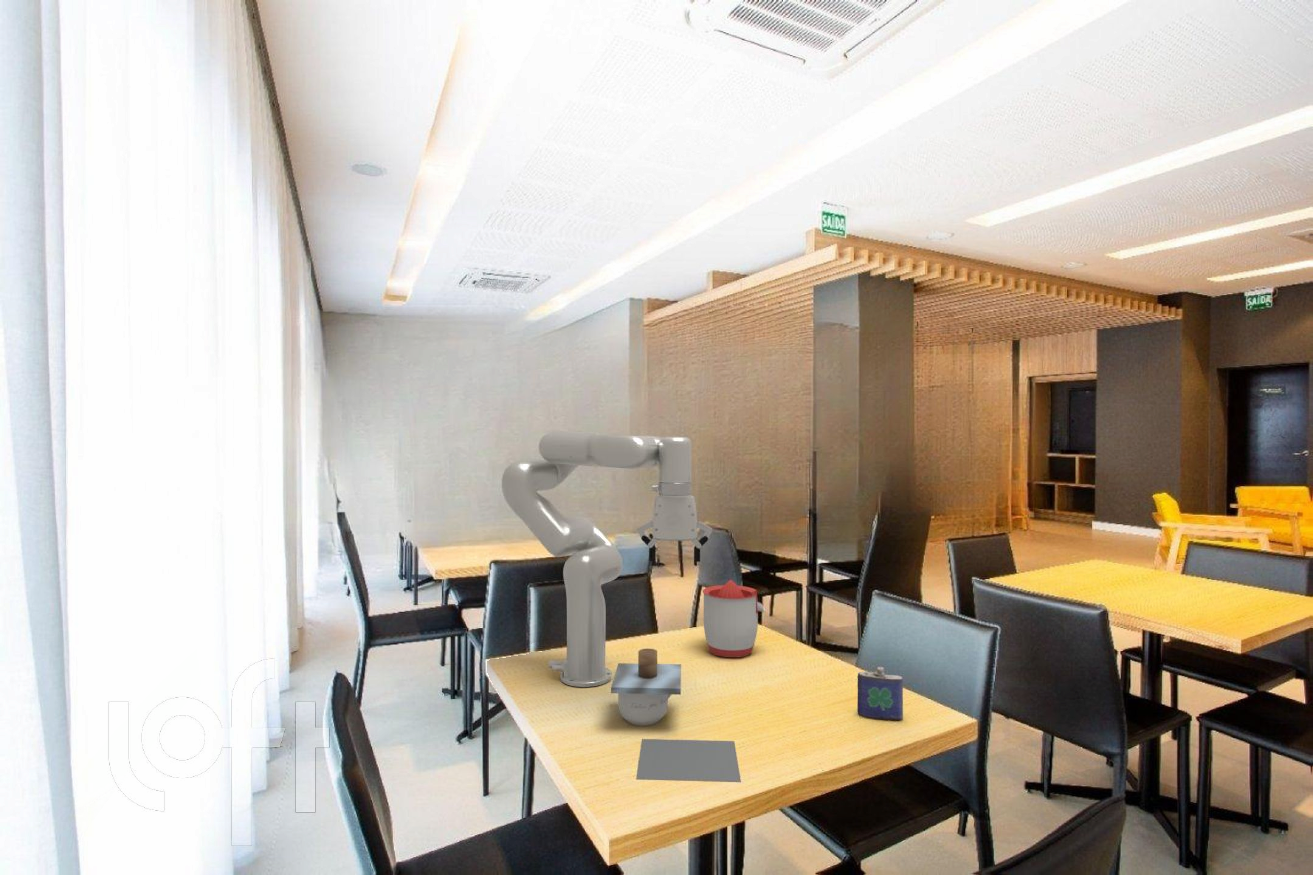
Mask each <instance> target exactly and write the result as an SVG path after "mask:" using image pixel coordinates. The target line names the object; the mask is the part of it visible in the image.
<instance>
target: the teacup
mask: <svg viewBox="0 0 1313 875" xmlns="http://www.w3.org/2000/svg"><path fill="white" fill-rule="evenodd" d="M672 695H673V694H624V693H617V700H618V710H619V712H620V715H621V717H622V718H623V719H625V720H626V721H627V722H628V723H629V724H631V725H634V726H643V727H644V726H651V725H655V724H657V723H658V722H660V721H661V719H662V718H663V717H664V716H665V715H666V714H667V712H668V709H669V708H668V707H669V698H671V696H672Z"/></svg>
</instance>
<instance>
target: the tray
mask: <svg viewBox="0 0 1313 875" xmlns="http://www.w3.org/2000/svg"><path fill="white" fill-rule="evenodd" d="M635 780H640V781H641V780H645V781H646V780H647V781H651V780H652V781H677V782H678V781H685V782H686V781H687V782H713V783H714V782H715V783H716V782H720V783H721V782H723V783H742V782H741V781H742V779H741V774H740V768H739V763H738V756H737V749H736V745H735V740H705V739H703V740H701V739H666V738H665V739H663V738H662V739H659V738H658V739H657V738H655V739H654V738H650V739H649V738H641V743H640V751H639V757H638V764H637V770H636V778H635Z"/></svg>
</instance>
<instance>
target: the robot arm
mask: <svg viewBox="0 0 1313 875" xmlns="http://www.w3.org/2000/svg"><path fill="white" fill-rule="evenodd" d="M538 451H539V454H540V456H541V457H542V458H534V459H533V458H530V459H529V458H528V459H521V460H516V461H514V462H511V463H510V464H509V465H507V467H506V468H505V469H504V471H503V473H502V478H501V490H502V494H503V498H504V500H505V502H506V504H507V505H508V506H509V508H510V509H511V511H513V513H515V515H516V516H517V517H518V518H519V519H521V521H522V522H523V523H524V524H525V525H526V526H527V528H528V529H529V531H530V532H531V533H532V534H533V536H535V537H536V539H537V540H538V541H539V542H540V544H541V545H542V546H543V547H544V548H545V549H546V551H547V552H548V553H549V554H550V555H552V556H554V557H557V558H560V557H567V556H568V558H567V559H566V561H565V563H564V565H563V570H562V571H563V572H562V576H563V582H564V587H565V593H566V658H563V659H561V660H559V659H550V660H549V665H548V666H549V669H552V671H555V672H556V671H561V672H560V681H561V682H562V683H563V684H565V685H567V686H571V687H576V688H577V687H578V688H591V687H597V686H600V685H601V686H602V685H604V684H606V683H608V682H609V681H611V679H612V677H613V674H612V671H611V669H609V668H608V667H606V619H607V618H606V614H607V613H606V610H607V609H606V599H605V597H604V596H605V595H604V594H603V590H602V585H604V584H608V583H610V582H612V581H614V580H615V579H617V578H618V577H619V576H620V575H621V573H622V571H623V565H624V564H623V562H624V561H623V558H622V556H621V554H620V552H619V550H618V549H617V547H615V545H614V544H613V543H612V542H611V541H610V540H609V538H608V537H607V536H606V535H605V534H604V533H603V532H602V531H601V529H600V528H599V527H598V526H597V525H596V524H595V523H594V522H593V521H591V520H590V519H588V518H587V517H584V516H580V515H576V516H569V517H568V516H565V515H563V514H562V513H561V512H560V511H559V509H557V508H556V507H555V506H556V505H554V504H553V503H552V502H551V501H550V500H549V499H547V498H546V497H544V496H543V495H541V494H540V493H539V492H542V491H549V490H553V489H556V488H557V487H558V486H559V485H561V483H563V482H564V481H565V480H566V479H567V478H568V477H569V476H570V475H571V474H572V473H573V472H574V471H575V470H576V469H577V468H578V467H579V466H586V467H595V468H598V467H603V468H614V469H645V468H646V469H648V468H649V469H650V468H658V483H657V484H653V485H652V486H651V487H652V489H651V491H652V492H657V493H658V495H655V496H654V497H655V498H654V501H653V502H654V503H653V512H652V520H650V521H648V522H646V523H644V524H643V525H640V526H639V527H637V530H636V531H637V533H638V535H639V537H640V538H641V541H642V542H643V543H645V545H646V546H647V547H648V554H649V555H648V562H651V566H656V564H657V563H656V562H657V560H656V558H657V552H656V550H657V547H656V544H657V542H658V541H667V542H668V541H669V542H670V541H671V542H672V541H674V542H675V541H676V542H682V541H684V542H689V541H691V543H692V544H693V545H694V547H693V566H695V567H697V566H698V562H701V548H702V547H703V546H704V545H705V544H706V543H707V542H708V541H709V538H710V537H711V534H712V533H713V528H712V527H710V526H708V525H707V524H704V523H703V522H700V521H699V520H698V516H697V505H696V499H695V496H693V495H692V441H691V439H690V438H689V437H685V436H665V437H660V436H653V435H614V434H613V435H611V434H601V433H600V432H598V431H582V430H581V431H576V430H553V431H552V430H551V431H549V432H547V433H545V434H544V435H542V437H541V438H540V441H539V444H538ZM650 528H652V530H651V531H652V532H651V533H652V538H651V539H650V537H648V536H647V534H646V532H645V531H647V530H649V529H650ZM698 529H700V530H702V531H704V534H703V536H701V538H700V539H699V538H698V537H697V535H698Z"/></svg>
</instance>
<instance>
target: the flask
mask: <svg viewBox="0 0 1313 875" xmlns="http://www.w3.org/2000/svg"><path fill="white" fill-rule="evenodd" d="M884 671H885V668H884V666H883V667H882V666H879V667H878V666H877V670H876V671H874V672H873V671H869V672H868V670H864V671H860V672H858V673H857V715H859V717H860V718H863V717H865V719H869V718H871V719H870V720H878V721H880V720H882V721H888V720H892V721H893V722H901V721H900V720H902V721H903V719H904V698H903V697H904V696H903V695H904V693H903V692H904V686H903V685H904V679H903V677H902V676H900V675H899V674H898V675H896V674H895V675H894V674H890V675H889V674H885V672H884ZM894 720H895V721H894ZM892 721H891V722H892Z"/></svg>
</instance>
